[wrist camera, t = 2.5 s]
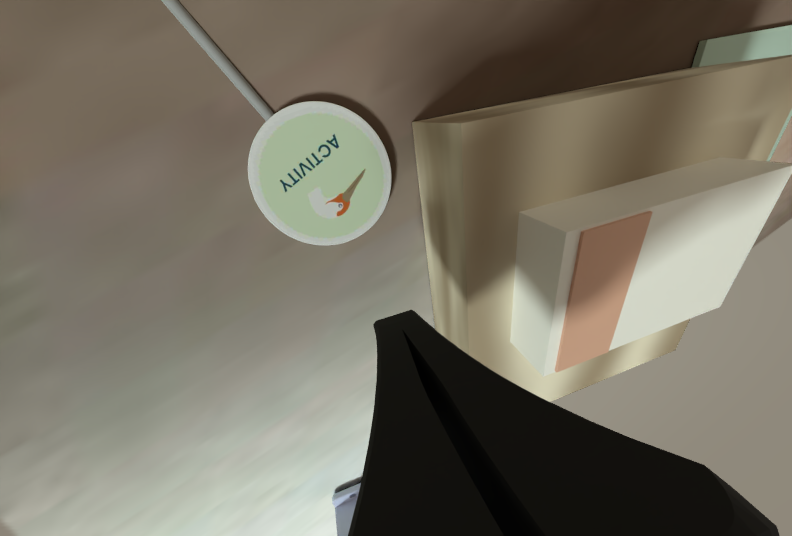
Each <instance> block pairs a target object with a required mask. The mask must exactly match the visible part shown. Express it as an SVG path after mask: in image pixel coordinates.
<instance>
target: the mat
mask: <svg viewBox="0 0 792 536" xmlns="http://www.w3.org/2000/svg"><path fill="white" fill-rule="evenodd" d="M785 55H792V25H788V26H783V27H777V28H771V29H766V30H760V31H754V32H748V33H743V34H737V35H731V36H726V37H720V38H714V39H708V40H703V41H700V42H699V45H698V48H697V52H696V55H695V58H694V61H693V65H692V68H694V67H701V66H709V65H716V64H724V63H732V62H739V61H747V60H755V59H762V58H770V57H778V56H785ZM791 116H792V109H791V111H790V113H789V115H788V117H787V119H786V121H785V123H784V125H783V127H782V129H781V132H780V134H779V136H778V138H777V140H776V142H775V144H774V146H773V148H772V150H771V152H770V154H769V156H768V159H767V161H770V159H771V157H772V155H773V153H774V151H775V149H776V147H777V145H778V143H779V141H780V138H781V136H782V134H783V132H784V130H785V128H786V126H787V124H788V122H789V120H790V118H791Z"/></svg>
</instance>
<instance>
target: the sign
mask: <svg viewBox="0 0 792 536" xmlns="http://www.w3.org/2000/svg"><path fill="white" fill-rule="evenodd" d="M161 1H162V2H163V3H164V4H165V5H166V6H167V8H168V9H169V10H170V11H171V12H172V13H173V15H174V16H175V17H176V18H177V19H178V20H179V21H180V23H181V24H182V25H183V26H184V27H185V28H186V30H187V31H188V32H189V33H190V34H191V35H192V37H193V38H194V39H195V40H196V41H197V42H198V43H199V45H200V46H201V47H202V48H203V49H204V50H205V52H206V53H207V54H208V55H209V56H210V57H211V58H212V60H213V61H214V62H215V63H216V64H217V65H218V66H219V68H220V69H221V70H222V71H223V72H224V73H225V75H226V76H227V77H228V78H229V79H230V80H231V81H232V83H233V84H234V85H235V86H236V87H237V88H238V89H239V91H240V92H241V93H242V94H243V95H244V96H245V97H246V99H247V100H248V101H249V102H250V103H251V104H252V106H253V107H254V108H255V109H256V110H257V111H258V112H259V114H260V115H261V116H262V117H263V118H264V119H265V120H266V122H265V123H264V124H263V126H262V127H261V128H260V130H259V131H258V133H257V135H256V137H255V138H254V141H253V143H252V146H251V149H250V153H249V159H248V177H249V183H250V187H251V191H252V194H253V196H254V199H255V201H256V203H257V205H258V206H259V208H260V210H261V211H262V213H263V214H264V215H265V216H266V218H267V219H268V220H269V221H270V222H271V223H272V224H273V225H274V226H275V227H276V228H278V229H279V230H280V231H282V232H283V233H285V234H286V235H288V236H290V237H292V238H294V239H296V240H299V241H302V242H305V243H309V244H314V245H336V244H341V243H345V242H348V241H350V240H353V239H355V238H357V237H359V236H360V235H362V234H363V233H365V232H366V231H367V230H368V229H370V228H371V227H372V226H373V225H374V224H375V222H376V221H377V220H378V219H379V217H380V216H381V214H382V213H383V211H384V209H385V207H386V204H387V202H388V199H389V195H390V190H391V167H390V162H389V158H388V155H387V152H386V149H385V147H384V145H383V143H382V141H381V139H380V138H379V136H378V135H377V133H376V132H375V131H374V130H373V128H372V127H371V126H370V125H369V124H368V123H367V122H366V121H365V120H364V119H362V118H361V117H360V116H358V115H357V114H356V113H354V112H352V111H351V110H349V109H347V108H344V107H342V106H339V105H336V104H333V103H328V102H322V101H307V102H301V103H296V104H293V105H290V106H288V107H286V108H283V109H282V110H280V111H278V112H277V113H275V114H274V113H273V112H272V111H271V109H270V108H269V107H268V106H267V105H266V103H265V102H264V101H263V100H262V99H261V98H260V96H259V95H258V94H257V93H256V92H255V91H254V89H253V88H252V87H251V86H250V85H249V83H248V82H247V81H246V80H245V79H244V78H243V76H242V75H241V74H240V73H239V72H238V71H237V69H236V68H235V67H234V66H233V65H232V63H231V62H230V61H229V60H228V59H227V58H226V56H225V55H224V54H223V53H222V52H221V51H220V49H219V48H218V47H217V46H216V45H215V43H214V42H213V41H212V40H211V39H210V38H209V36H208V35H207V34H206V33H205V32H204V31H203V29H202V28H201V27H200V26H199V25H198V23H197V22H196V21H195V20H194V19H193V18H192V16H191V15H190V14H189V13H188V12H187V11H186V9H185V8H184V7H183V6H182V5H181V4H180V2H179V1H178V0H161Z"/></svg>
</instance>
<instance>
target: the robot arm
mask: <svg viewBox="0 0 792 536" xmlns="http://www.w3.org/2000/svg"><path fill="white" fill-rule="evenodd" d="M374 329H375V333H376V339H377V383H376V394H375V405H374V413H373V420H372V427H371V433H370V440H369V445H368V451H367V456H366V461H365V466H364V471H363V476H362V480H361V483H359V484H357V485H354V486H352V487H349V488H347V489H345V490H342V491H340V492H337V493H336V494H334V495H333V497H332V501H333V505H334V506H335V513H336V525H337V536H779V533H778V529H777V527H776V525H775V524H773V523H772V522H771V521H770V520H769V519H768V518H767V517H765V516H764V515H763V514H762V513H761V512H760V511H759V510H757V509H756V508H755V507H754V506H753V505H752V504H750V503H749V502H748V501H747V500H746V499H745V498H744V497H742V496H741V495H740V494H739V493H738V492H737V491H736V490H734V489H733V488H732V487H731V486H730V485H728V484H727V483H726V482H725V481H723V480H722V479H721V478H719V477H718V476H717V475H716V474H715V473H713V472H712V471H711V470H710V469H708V468H707V467H706V466H705V465H702V464H699V463H697V462H694V461H692V460H689V459H686V458H683V457H681V456H678V455H675V454H672V453H670V452H667V451H664V450H662V449H659V448H656V447H654V446H651V445H648V444H645V443H643V442H640V441H637V440H635V439H632V438H629V437H627V436H624V435H622V434H619V433H617V432H615V431H613V430H610V429H608V428H605V427H603V426H601V425H598V424H596V423H594V422H591V421H589V420H587V419H584V418H583V417H581V416H578V415H576V414H574V413H572V412H570V411H568V410H566V409H563V408H561V407H559V406H557V405H555V404H553V403H551V402H549V401H546V400H544V399H542V398H540V397H539V396H537V395H535V394H533V393H531V392H529V391H527V390H525V389H524V388H522V387H520V386H518V385H516V384H515V383H513V382H511V381H509V380H508V379H506V378H504V377H502V376H501V375H499V374H497V373H496V372H494V371H492V370H491V369H489V368H488V367H486V366H485V365H483V364H482V363H480V362H479V361H477V360H476V359H474V358H473V357H471V356H470V355H468V354H467V353H465V352H464V351H462V350H461V349H460V348H458V347H457V346H456V345H454V344H453V343H452V342H450V341H449V340H448V339H446V338H445V337H444V336H443V335H441V334H440V333H439V332H438V331H436V330H435V329H434V328H433V327H431V326H430V325H429V324H428V323H427V322H426V321H425V320H423V319H422V318H421V317H420V316H419V315H418V314H417V313H416V312H415V311H413V310H409V311H406V312H403V313H400V314H397V315H393V316H390V317H387V318H384V319H381V320H378V321H376V322H375V323H374Z"/></svg>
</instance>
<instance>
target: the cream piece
mask: <svg viewBox="0 0 792 536" xmlns="http://www.w3.org/2000/svg"><path fill="white" fill-rule="evenodd" d="M791 109H792V55H785V56H778V57H770V58H762V59H755V60H747V61H739V62H732V63H724V64H716V65H709V66H701V67H694V68H687V69H682V70H676V71H671V72H666V73H661V74H656V75H651V76H646V77H641V78H635V79H630V80H625V81H620V82H615V83H610V84H605V85H600V86H594V87H589V88H584V89H579V90H574V91H569V92H564V93H559V94H553V95H548V96H543V97H538V98H533V99H528V100H523V101H518V102H512V103H507V104H502V105H497V106H492V107H487V108H482V109H477V110H471V111H466V112H461V113H456V114H451V115H446V116H441V117H436V118H430V119H425V120H420V121H415V122H412V127H413V136H414V145H415V154H416V163H417V172H418V181H419V189H420V198H421V207H422V216H423V225H424V234H425V243H426V252H427V260H428V269H429V278H430V287H431V296H432V305H433V314H434V322H435V330H436V331H438V332H439V333H440V334H441V335H443V336H444V337H445V338H446V339H448V340H449V341H450V342H452V343H453V344H454V345H456V346H457V347H458V348H460V349H461V350H462V351H464V352H465V353H467V354H468V355H470V356H471V357H473V358H474V359H476V360H477V361H479V362H480V363H482V364H483V365H485V366H486V367H488V368H489V369H491V370H492V371H494V372H496V373H497V374H499V375H501V376H502V377H504V378H506V379H508V380H509V381H511V382H513V383H515V384H516V385H518V386H520V387H522V388H524V389H525V390H527V391H529V392H531V393H533V394H535V395H537V396H539V397H540V398H542V399H544V400H546V401H549V402H551V401H554V400H556V399H559V398H561V397H564V396H566V395H568V394H571V393H573V392H576V391H578V390H580V389H583V388H585V387H588V386H590V385H592V384H595V383H597V382H600V381H602V380H605V379H607V378H609V377H612V376H614V375H616V374H619V373H621V372H624V371H626V370H628V369H631V368H633V367H636V366H638V365H641V364H643V363H645V362H648V361H650V360H653V359H655V358H657V357H660V356H662V355H665V354H667V353H670V352H672V351H674V350H675V349H676V347H677V345H678V343H679V341H680V339H681V337H682V335H683V333H684V331H685V329H686V327H687V325H688V323H689V320H690V319H688V320H685V321H683V322H680V323H678V324H675V325H673V326H670V327H668V328H665V329H663V330H660V331H658V332H655V333H653V334H650V335H648V336H645V337H642V338H640V339H637V340H635V341H632V342H630V343H627V344H625V345H622V346H620V347H617V348H615V349H612V350H610V351H609V352H607V353H605V354H602V355H600V356H597V357H595V358H592V359H590V360H587V361H585V362H582V363H580V364H577V365H575V366H572V367H570V368H567V369H565V370H562V371H559V372H557V373H556V372H554V373H551V374H549V375H546V376H544V377H543V376H542V375H541V374H540V373H539V372H538V371H537V370H536V369H535V368H534V367H533V365H532V364H531V363H530V362H529V361H528V360H527V359H526V358H525V357H524V356H523V355H522V354H521V353H520V352H519V351H518V349H517V348H516V347H515V346H514V345H513V344H512V343H511V342H510V337H511V322H512V307H513V292H514V278H515V263H516V248H517V233H518V218H519V212H521V211H525V210H528V209H532V208H536V207H539V206H543V205H547V204H550V203H554V202H558V201H561V200H565V199H569V198H572V197H576V196H580V195H583V194H587V193H591V192H594V191H598V190H602V189H605V188H609V187H613V186H616V185H620V184H624V183H627V182H631V181H634V180H638V179H642V178H645V177H649V176H653V175H656V174H660V173H664V172H667V171H671V170H675V169H678V168H682V167H686V166H689V165H693V164H697V163H700V162H704V161H708V160H711V159H715V158H719V157H725V158H736V159H747V160H758V161H767V159H768V156H769V154H770V152H771V150H772V148H773V146H774V144H775V142H776V140H777V138H778V136H779V134H780V132H781V129H782V127H783V125H784V123H785V121H786V119H787V117H788V115H789V113H790V111H791Z"/></svg>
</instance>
